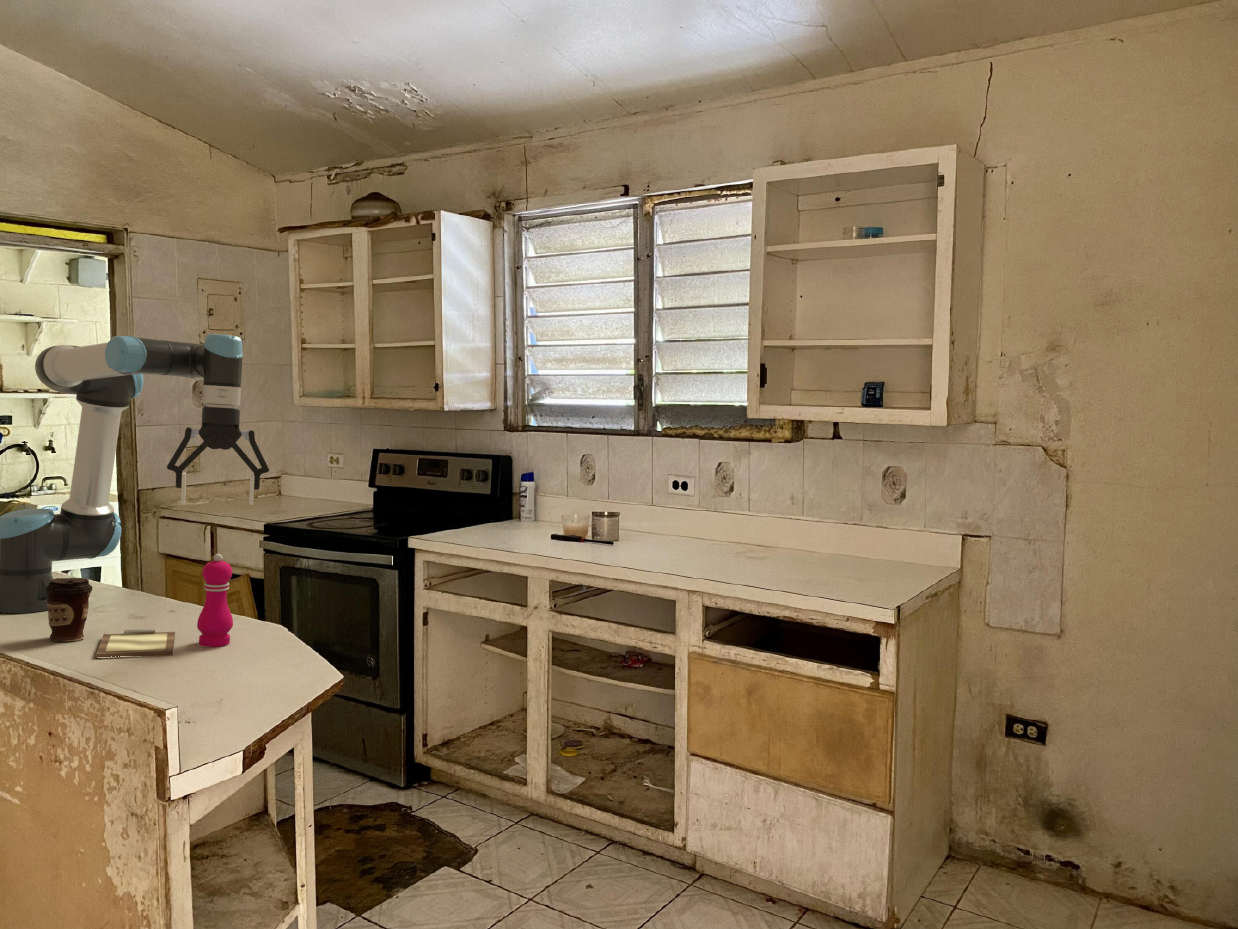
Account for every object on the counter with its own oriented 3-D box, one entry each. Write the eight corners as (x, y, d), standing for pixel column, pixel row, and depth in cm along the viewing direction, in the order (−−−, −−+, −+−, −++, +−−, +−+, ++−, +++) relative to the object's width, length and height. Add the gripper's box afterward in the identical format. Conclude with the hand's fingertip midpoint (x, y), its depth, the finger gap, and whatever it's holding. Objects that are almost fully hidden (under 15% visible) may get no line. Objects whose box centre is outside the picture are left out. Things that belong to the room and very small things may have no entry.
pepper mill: (239, 642, 203) (243, 553, 202) (215, 649, 196) (219, 557, 195) (213, 637, 205) (217, 550, 204) (188, 645, 198) (192, 554, 197)
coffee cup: (67, 646, 191) (69, 585, 190) (33, 641, 193) (35, 581, 192) (98, 636, 200) (100, 578, 199) (66, 632, 201) (68, 574, 201)
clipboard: (103, 638, 198) (103, 630, 198) (174, 636, 204) (175, 628, 204) (95, 659, 184) (96, 650, 184) (173, 655, 190) (173, 646, 190)
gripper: (155, 403, 188) (152, 504, 190) (283, 410, 199) (279, 506, 200) (157, 402, 195) (154, 500, 196) (281, 409, 206) (277, 502, 207)
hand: (217, 504), depth 198 cm, fingers open, 13 cm apart
